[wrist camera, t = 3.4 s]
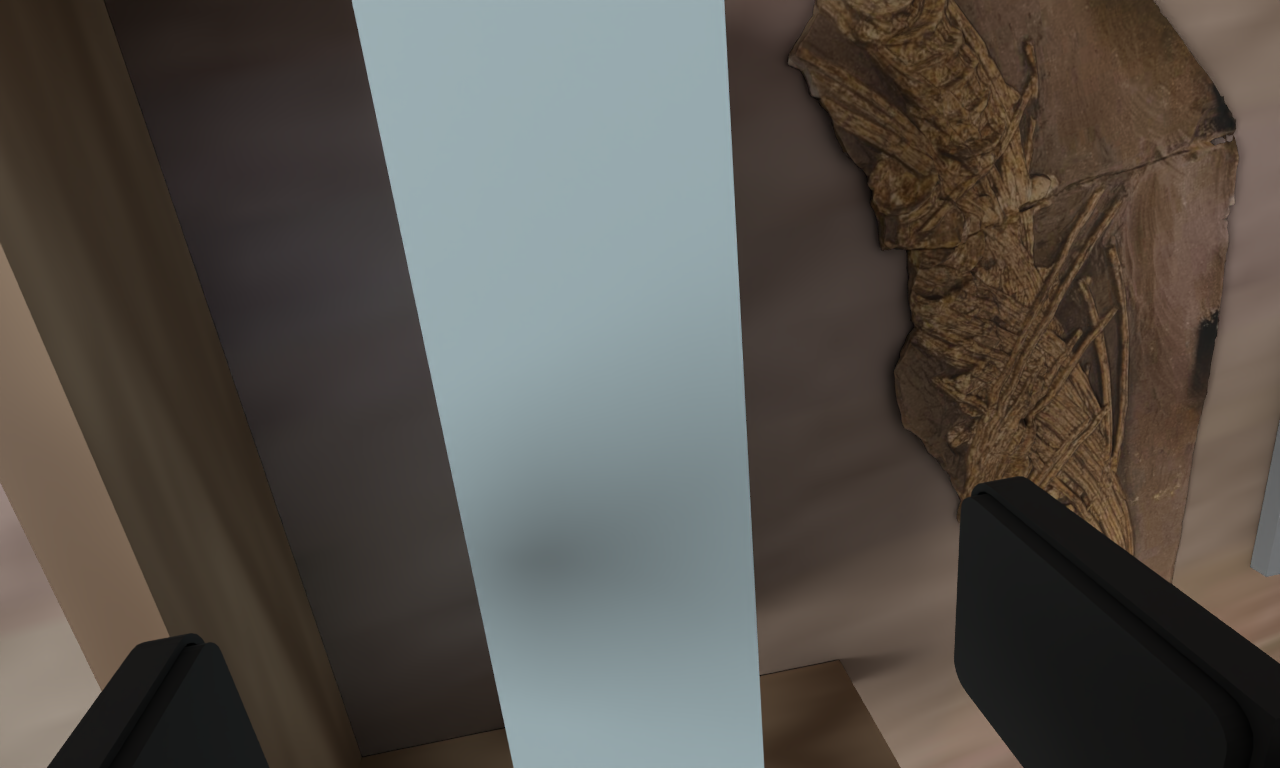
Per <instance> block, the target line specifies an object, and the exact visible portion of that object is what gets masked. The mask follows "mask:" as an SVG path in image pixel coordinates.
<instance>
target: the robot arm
mask: <svg viewBox="0 0 1280 768" xmlns="http://www.w3.org/2000/svg"><path fill="white" fill-rule="evenodd" d="M954 664H955V669H956V672H957V675H958V678H959V680H960V683H961V685H962V686H963V688H964V689H965V691H966V692H967V694H968V695H969V696H970V698H971V699H972V700H973V702H974V703H975V704H976V706H977V707H978V708H979V709H980V711H981V712H982V713H983V715H984V716H985V717H986V719H987V720H988V721H989V723H990V724H991V725H992V727H993V728H994V729H995V731H996V732H997V733H998V735H999V736H1000V737H1001V738H1002V740H1003V741H1004V742H1005V744H1006V745H1007V746H1008V748H1009V749H1010V750H1011V752H1012V753H1013V754H1014V756H1015V757H1016V758H1017V760H1018V761H1019V762H1020V764H1021V765H1022V766H1023V768H1280V664H1279V663H1278V662H1277V661H1275V660H1274V659H1273V658H1271V657H1270V656H1269V655H1267V654H1266V653H1265V652H1263V651H1262V650H1260V649H1259V648H1258V647H1256V646H1255V645H1254V644H1252V643H1251V642H1250V641H1248V640H1247V639H1245V638H1244V637H1243V636H1241V635H1240V634H1239V633H1237V632H1236V631H1235V630H1233V629H1232V628H1231V627H1229V626H1228V625H1226V624H1225V623H1224V622H1222V621H1221V620H1220V619H1218V618H1217V617H1216V616H1214V615H1213V614H1212V613H1210V612H1209V611H1207V610H1206V609H1205V608H1203V607H1202V606H1201V605H1199V604H1198V603H1197V602H1195V601H1194V600H1192V599H1191V598H1190V597H1188V596H1187V595H1186V594H1184V593H1183V592H1182V591H1180V590H1179V589H1178V588H1176V587H1175V586H1173V585H1172V584H1171V583H1169V582H1168V581H1167V580H1165V579H1164V578H1163V577H1161V576H1160V575H1159V574H1157V573H1156V572H1154V571H1153V570H1152V569H1150V568H1149V567H1148V566H1146V565H1145V564H1144V563H1142V562H1141V561H1139V560H1138V559H1137V558H1135V557H1134V556H1133V555H1131V554H1130V553H1129V552H1127V551H1126V550H1125V549H1123V548H1122V547H1120V546H1119V545H1118V544H1116V543H1115V542H1114V541H1112V540H1111V539H1110V538H1108V537H1107V536H1105V535H1104V534H1103V533H1101V532H1100V531H1099V530H1097V529H1096V528H1095V527H1093V526H1092V525H1091V524H1089V523H1088V522H1086V521H1085V520H1084V519H1082V518H1081V517H1080V516H1078V515H1077V514H1076V513H1074V512H1073V511H1072V510H1070V509H1069V508H1067V507H1066V506H1065V505H1063V504H1062V503H1061V502H1059V501H1058V500H1057V499H1055V498H1054V497H1052V496H1051V495H1050V494H1048V493H1047V492H1046V491H1044V490H1043V489H1042V488H1040V487H1039V486H1038V485H1036V484H1035V483H1033V482H1032V481H1031V480H1029V479H1027V478H1025V477H1023V476H1016V477H1010V478H1005V479H1000V480H994V481H989V482H984V483H979V484H977V485H976V486H974V488H973V490H972V492H971V497H967V498H965V499H964V500H963V502H962V504H961V515H960V537H959V560H958V582H957V605H956V628H955V650H954ZM47 768H269V765H268V763H267V760H266V758H265V755H264V753H263V751H262V748H261V746H260V743H259V741H258V739H257V736H256V734H255V731H254V729H253V727H252V724H251V722H250V719H249V717H248V714H247V712H246V710H245V707H244V705H243V702H242V700H241V698H240V695H239V693H238V690H237V688H236V686H235V683H234V681H233V678H232V676H231V673H230V671H229V669H228V666H227V664H226V661H225V659H224V657H223V654H222V652H221V650H220V648H219V647H218V646H217V645H216V644H215V643H212V642H208V643H205V642H204V640H203V639H202V638H201V637H200V636H199V635H198V634H194V633H189V634H184V635H178V636H173V637H168V638H162V639H157V640H152V641H147V642H143V643H140V644H138V645H136V646H135V647H134V648H133V649H132V650H131V652H130V653H129V654H128V656H127V657H126V659H125V660H124V661H123V663H122V664H121V666H120V667H119V668H118V670H117V671H116V673H115V674H114V675H113V677H112V678H111V679H110V681H109V682H108V684H107V685H106V686H105V688H104V689H103V691H102V692H101V693H100V695H99V696H98V698H97V699H96V700H95V702H94V703H93V705H92V706H91V707H90V709H89V710H88V711H87V713H86V714H85V716H84V717H83V718H82V720H81V721H80V723H79V724H78V725H77V727H76V728H75V730H74V731H73V732H72V734H71V735H70V736H69V738H68V739H67V741H66V742H65V743H64V745H63V746H62V748H61V749H60V750H59V752H58V753H57V755H56V756H55V757H54V759H53V760H52V762H51V763H50V764H49V766H48V767H47Z"/></svg>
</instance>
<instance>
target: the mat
mask: <svg viewBox="0 0 1280 768" xmlns="http://www.w3.org/2000/svg"><path fill="white" fill-rule="evenodd" d="M1250 567H1251V568H1253V569H1254V570H1256V571H1258V572H1259V573H1261V574H1262V575H1264V576H1266V577H1268V576H1273V575H1278V574H1280V422H1279V426H1278V431H1277V436H1276V441H1275V446H1274V451H1273V456H1272V461H1271V466H1270V471H1269V476H1268V481H1267V486H1266V491H1265V496H1264V501H1263V506H1262V511H1261V516H1260V521H1259V526H1258V531H1257V536H1256V541H1255V546H1254V551H1253V556H1252V561H1251V566H1250Z"/></svg>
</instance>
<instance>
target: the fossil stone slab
mask: <svg viewBox="0 0 1280 768" xmlns="http://www.w3.org/2000/svg"><path fill="white" fill-rule="evenodd" d="M788 64H789V65H790V66H791V67H794V68H797V69H799V70H801V71H802V73H803V75H804V77H805V79H806V81H807V84H808V88H809V91H810V95H811V96H812V97H814V98H816V99H818V100H819V102H820V106H822V107H823V108H824V109H825V110H826V111H827V112H828V113H829V114H830V116H831V118H832V125H833V129H834V132H835V135H836V138H837V140H838V141H839V143H840V145H841V147H842V150H843V153H845V152H847V153H848V155H849V157H850V158H851V159H852V160H853V161H854V163H855V164H856V165H857V166H858V167H859V168H862V169H863V171H864V172H865V174H866V175H867V177H868V186H869V187H870V189H871V190H872V197H871V202H870V205H871V207H872V208H873V210H874V212H875V215H876V218H877V221H878V224H879V225H878V231H879V242H880V247H881V250H882V251H884V250H891V249H904V250H906V251H907V254H908V261H907V270H908V274H909V280H908V299H909V305H910V308H911V312H912V318H911V321H912V322H913V323H914V326H915V327H914V328H913V330H912V331H911V332H910V333H909V334H908V336H907V338H906V342H905V344H904V346H903V348H902V350H901V352H900V359H899V361H898V363H897V365H896V368H895V370H894V375H895V390H896V398H897V403H898V406H899V409H900V412H901V415H902V423H903V426H904V428H905V429H907V430H910V431H912V432H913V433H914V434H915V435H917V436H918V437H919V438H921V440H922V441H923V443H924V445H925V447H926V449H927V451H928V452H929V453H930V454H931V455H932V456H934V457H935V458H936V459H937V460H938V462H939V464H940V465H941V467H942V469H943V470H945V471H947V473H948V474H949V475H950V476H951V483H952V485H953V487H954V489H955V490H956V491H957V493H958V496H959V499H960V500H961V503H960V505H959V508H958V512H957V520H958V522H959V523H960V515H961V504H962V502H963V500H964V499H965V498H967V497H971V492H972V490H973V488H974V486H976V485H977V484H979V483H984V482H989V481H994V480H1000V479H1005V478H1010V477H1016V476H1023V477H1025V478H1027V479H1029V480H1031V481H1032V482H1033V483H1035V484H1036V485H1038V486H1039V487H1040V488H1042V489H1043V490H1044V491H1046V492H1047V493H1048V494H1050V495H1051V496H1052V497H1054V498H1055V499H1057V500H1058V501H1059V502H1061V503H1062V504H1063V505H1065V506H1066V507H1067V508H1069V509H1070V510H1072V511H1073V512H1074V513H1076V514H1077V515H1078V516H1080V517H1081V518H1082V519H1084V520H1085V521H1086V522H1088V523H1089V524H1091V525H1092V526H1093V527H1095V528H1096V529H1097V530H1099V531H1100V532H1101V533H1103V534H1104V535H1105V536H1107V537H1108V538H1110V539H1111V540H1112V541H1114V542H1115V543H1116V544H1118V545H1119V546H1120V547H1122V548H1123V549H1125V550H1126V551H1127V552H1129V553H1130V554H1131V555H1133V556H1134V557H1135V558H1137V559H1138V560H1139V561H1141V562H1142V563H1144V564H1145V565H1146V566H1148V567H1149V568H1150V569H1152V570H1153V571H1154V572H1156V573H1157V574H1159V575H1160V576H1161V577H1163V578H1164V579H1165V580H1167V581H1168V582H1169V583H1171V582H1172V577H1173V571H1174V564H1175V559H1176V554H1177V551H1178V547H1179V541H1180V537H1181V530H1182V520H1183V517H1184V510H1185V504H1186V499H1187V492H1188V482H1189V476H1190V471H1191V465H1192V454H1193V451H1194V447H1195V440H1196V436H1197V427H1198V424H1199V419H1200V416H1201V414H1202V409H1203V404H1204V401H1205V398H1206V395H1207V386H1208V379H1209V375H1210V366H1211V361H1212V355H1213V350H1214V344H1215V338H1216V337H1217V329H1218V322H1219V317H1218V316H1219V312H1220V302H1221V295H1222V289H1223V276H1224V264H1225V262H1226V252H1227V249H1228V244H1229V235H1228V231H1227V225H1228V221H1227V220H1226V218H1227V216H1228V215H1229V213H1230V209H1229V206H1230V205H1233V204H1235V199H1234V190H1235V180H1236V170H1237V166H1238V161H1239V155H1238V150H1237V145H1236V141H1235V137H1234V135H1233V134H1234V131H1235V129H1236V120H1235V119H1234V118H1233V117H1232V113H1231V112H1230V110H1229V109H1228V107H1227V105H1226V104H1225V103H1224V96H1223V97H1221V96H1220V94H1219V92H1218V90H1217V88H1216V87H1215V85H1214V83H1213V82H1212V81H1211V79H1210V78H1209V76H1208V75H1207V73H1206V72H1205V71H1204V70H1203V68H1202V67H1201V66H1200V65H1199V64H1198V63H1197V61H1196V60H1195V58H1194V56H1193V55H1192V54H1191V52H1190V51H1189V49H1188V48H1187V47H1186V45H1185V44H1184V42H1183V40H1182V39H1181V38H1180V36H1179V35H1178V34H1177V32H1176V31H1175V30H1174V28H1173V27H1172V25H1171V24H1170V23H1169V21H1168V20H1167V19H1166V18H1165V17H1164V16H1163V15H1162V14H1161V13H1160V10H1159V7H1158V6H1157V5H1156V4H1155V3H1154V2H1153V0H815V5H814V9H813V16H812V17H811V19H810V20H809V22H808V23H807V25H806V27H805V29H804V31H803V33H802V35H801V37H800V38H799V39H798V40H797V41H796V43H795V45H794V47H793V49H792V50H791V52H790V54H789V58H788ZM1226 134H1227V135H1233V141H1231V142H1228V141H1226V142H1225V143H1220V144H1218V145H1215V146H1214V145H1213V144H1212V143H1210V141H1211V140H1213V139H1214V138H1219V137H1223V138H1224V139H1225V140H1226Z"/></svg>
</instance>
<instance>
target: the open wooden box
mask: <svg viewBox="0 0 1280 768" xmlns="http://www.w3.org/2000/svg"><path fill="white" fill-rule="evenodd" d="M0 483H1V485H2V487H3V489H4V491H5V493H6V495H7V497H8V499H9V501H10V503H11V505H12V508H13V510H14V512H15V514H16V516H17V518H18V520H19V522H20V524H21V526H22V528H23V530H24V532H25V534H26V536H27V538H28V540H29V542H30V545H31V547H32V549H33V551H34V553H35V555H36V557H37V559H38V561H39V563H40V565H41V567H42V569H43V571H44V573H45V575H46V577H47V579H48V582H49V584H50V586H51V588H52V590H53V592H54V594H55V596H56V598H57V600H58V602H59V604H60V606H61V608H62V610H63V612H64V614H65V616H66V619H67V621H68V623H69V625H70V627H71V629H72V631H73V633H74V635H75V637H76V639H77V641H78V643H79V645H80V647H81V649H82V651H83V653H84V655H85V658H86V660H87V662H88V664H89V666H90V668H91V670H92V672H93V674H94V676H95V678H96V680H97V682H98V684H99V686H100V688H101V690H102V691H103V689H104V688H105V686H106V685H107V684H108V682H109V681H110V679H111V678H112V677H113V675H114V674H115V673H116V671H117V670H118V668H119V667H120V666H121V664H122V663H123V661H124V660H125V659H126V657H127V656H128V654H129V653H130V652H131V650H132V649H133V648H134V647H135V646H136V645H138V644H140V643H143V642H147V641H152V640H157V639H162V638H168V637H173V636H178V635H184V634H189V633H194V634H198V635H199V636H200V637H201V638H202V639H203V640H204V642H205V643H208V642H212V643H215V644H216V645H217V646H218V647H219V648H220V650H221V652H222V654H223V657H224V659H225V661H226V664H227V666H228V669H229V671H230V673H231V676H232V678H233V681H234V683H235V686H236V688H237V690H238V693H239V695H240V698H241V700H242V702H243V705H244V707H245V710H246V712H247V714H248V717H249V719H250V722H251V724H252V727H253V729H254V731H255V734H256V736H257V739H258V741H259V743H260V746H261V748H262V751H263V753H264V755H265V758H266V760H267V763H268V765H269V768H514V767H513V762H512V757H511V753H510V748H509V743H508V738H507V734H506V729H505V728H504V729H499V730H494V731H489V732H484V733H479V734H475V735H470V736H465V737H460V738H455V739H450V740H445V741H440V742H435V743H430V744H426V745H421V746H416V747H411V748H406V749H401V750H396V751H391V752H386V753H382V754H377V755H372V756H367V757H361V754H360V751H359V748H358V745H357V742H356V739H355V736H354V733H353V730H352V727H351V724H350V722H349V719H348V716H347V713H346V710H345V707H344V704H343V701H342V698H341V695H340V692H339V689H338V686H337V683H336V681H335V678H334V675H333V672H332V669H331V666H330V663H329V660H328V657H327V654H326V651H325V648H324V645H323V642H322V639H321V637H320V634H319V631H318V628H317V625H316V622H315V619H314V616H313V613H312V610H311V607H310V604H309V601H308V598H307V596H306V593H305V590H304V587H303V584H302V581H301V578H300V575H299V572H298V569H297V566H296V563H295V560H294V557H293V555H292V552H291V549H290V546H289V543H288V540H287V537H286V534H285V531H284V528H283V525H282V522H281V519H280V516H279V513H278V511H277V508H276V505H275V502H274V499H273V496H272V493H271V490H270V487H269V484H268V481H267V478H266V475H265V472H264V470H263V467H262V464H261V461H260V458H259V455H258V452H257V449H256V446H255V443H254V440H253V437H252V434H251V431H250V428H249V426H248V423H247V420H246V417H245V414H244V411H243V408H242V405H241V402H240V399H239V396H238V393H237V390H236V387H235V385H234V382H233V379H232V376H231V373H230V370H229V367H228V364H227V361H226V358H225V355H224V352H223V349H222V346H221V344H220V341H219V338H218V335H217V332H216V329H215V326H214V323H213V320H212V317H211V314H210V311H209V308H208V305H207V302H206V300H205V297H204V294H203V291H202V288H201V285H200V282H199V279H198V276H197V273H196V270H195V267H194V264H193V261H192V259H191V256H190V253H189V250H188V247H187V244H186V241H185V238H184V235H183V232H182V229H181V226H180V223H179V220H178V217H177V215H176V212H175V209H174V206H173V203H172V200H171V197H170V194H169V191H168V188H167V185H166V182H165V179H164V176H163V174H162V171H161V168H160V165H159V162H158V159H157V156H156V153H155V150H154V147H153V144H152V141H151V138H150V135H149V133H148V130H147V127H146V124H145V121H144V118H143V115H142V112H141V109H140V106H139V103H138V100H137V97H136V94H135V91H134V89H133V86H132V83H131V80H130V77H129V74H128V71H127V68H126V65H125V62H124V59H123V56H122V53H121V50H120V48H119V45H118V42H117V39H116V36H115V33H114V30H113V27H112V24H111V21H110V18H109V15H108V12H107V9H106V6H105V4H104V1H103V0H0ZM759 677H760V696H761V715H762V735H763V754H764V768H901V767H900V766H899V764H898V762H897V760H896V759H895V757H894V755H893V753H892V752H891V750H890V748H889V746H888V745H887V743H886V741H885V739H884V738H883V736H882V734H881V732H880V731H879V729H878V727H877V725H876V724H875V722H874V720H873V718H872V717H871V715H870V713H869V711H868V710H867V708H866V706H865V704H864V703H863V701H862V699H861V697H860V695H859V694H858V692H857V690H856V688H855V687H854V685H853V683H852V681H851V680H850V678H849V676H848V674H847V673H846V671H845V669H844V667H843V666H842V664H841V662H840V660H837V661H832V662H827V663H822V664H817V665H812V666H807V667H803V668H798V669H793V670H788V671H783V672H778V673H773V674H768V675H763V676H759Z"/></svg>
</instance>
